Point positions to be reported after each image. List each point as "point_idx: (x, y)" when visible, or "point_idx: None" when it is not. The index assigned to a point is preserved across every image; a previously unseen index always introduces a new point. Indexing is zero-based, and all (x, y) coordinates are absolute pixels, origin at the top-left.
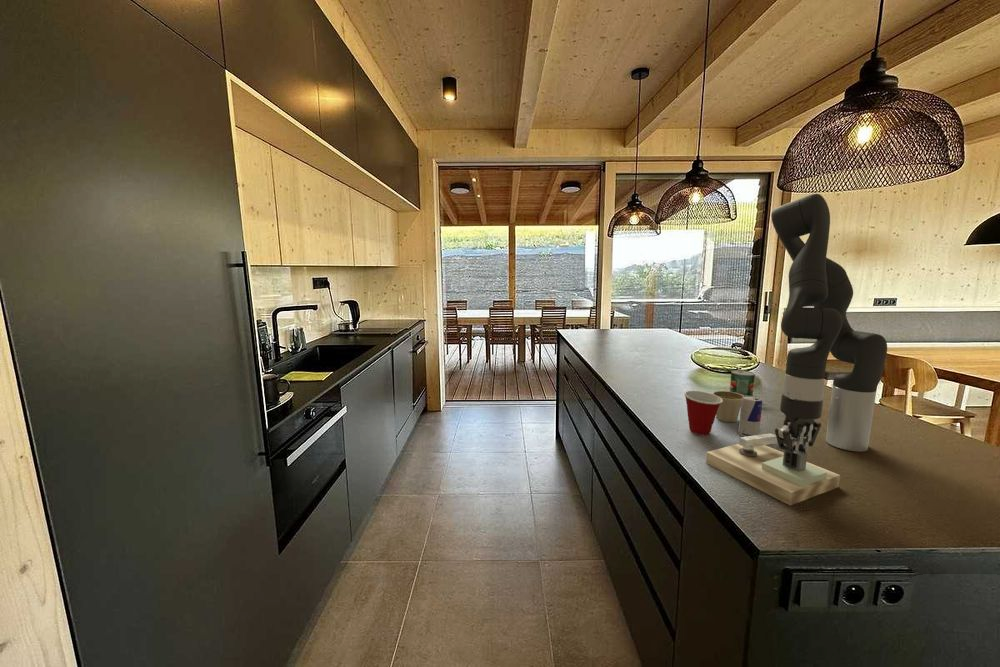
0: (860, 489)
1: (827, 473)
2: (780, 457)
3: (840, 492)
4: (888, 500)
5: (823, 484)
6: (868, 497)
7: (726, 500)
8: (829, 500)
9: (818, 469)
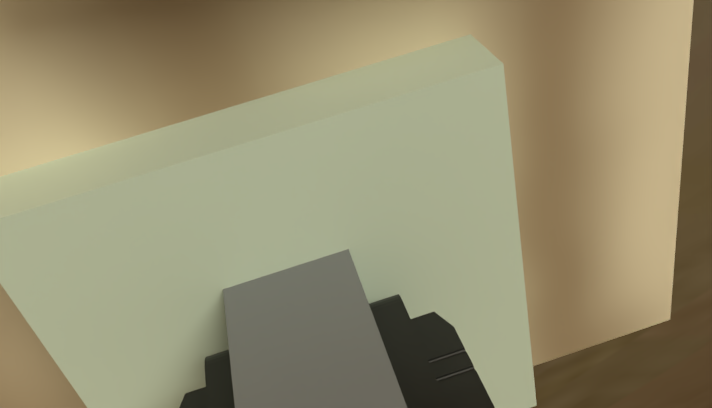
0: (706, 279)
1: (606, 295)
2: (376, 108)
3: None
4: (701, 374)
5: None
6: (639, 353)
7: None
8: None
9: (514, 369)
